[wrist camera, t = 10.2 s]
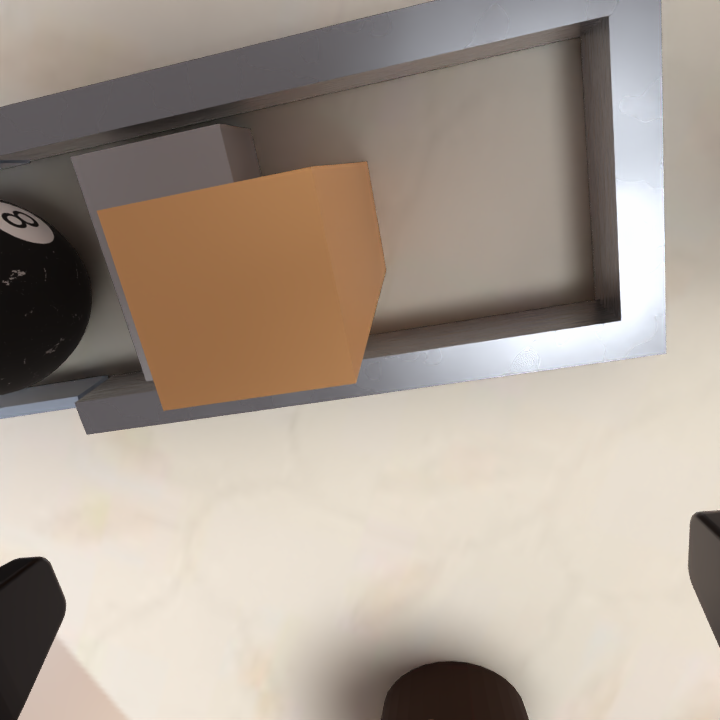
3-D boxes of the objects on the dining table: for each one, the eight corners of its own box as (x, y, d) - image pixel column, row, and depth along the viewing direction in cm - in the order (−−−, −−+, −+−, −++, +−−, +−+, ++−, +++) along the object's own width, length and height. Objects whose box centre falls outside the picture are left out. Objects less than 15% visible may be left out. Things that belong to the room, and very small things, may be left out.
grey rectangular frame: (623, -23, 15) (659, -55, 13) (634, 328, 19) (666, 353, 16) (21, 121, 18) (-38, 116, 16) (122, 404, 21) (86, 434, 19)
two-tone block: (357, 105, 17) (285, 42, 8) (394, 316, 19) (373, 468, 10) (123, 156, 18) (-186, 157, 9) (183, 350, 20) (-14, 514, 11)
